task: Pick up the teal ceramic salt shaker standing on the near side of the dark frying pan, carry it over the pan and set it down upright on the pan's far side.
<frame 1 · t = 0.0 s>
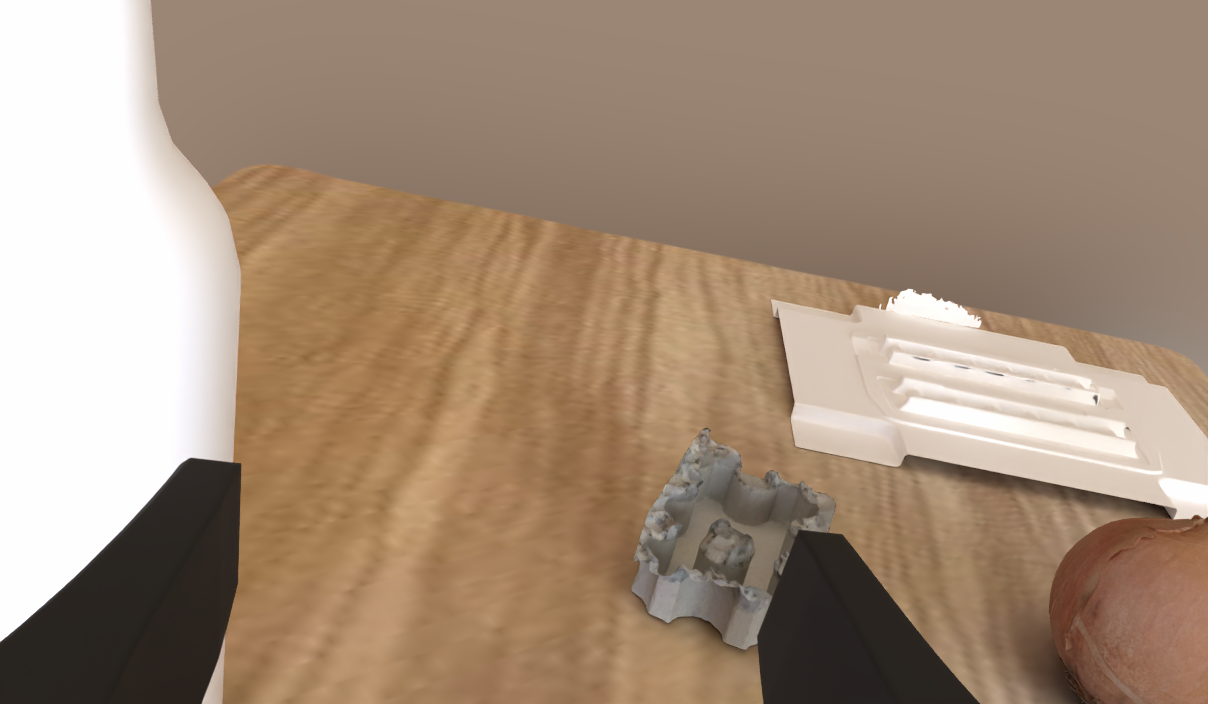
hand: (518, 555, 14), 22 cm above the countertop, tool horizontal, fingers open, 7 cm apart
egg carton: (724, 573, 51), on the countertop
tray: (990, 409, 71), on the countertop
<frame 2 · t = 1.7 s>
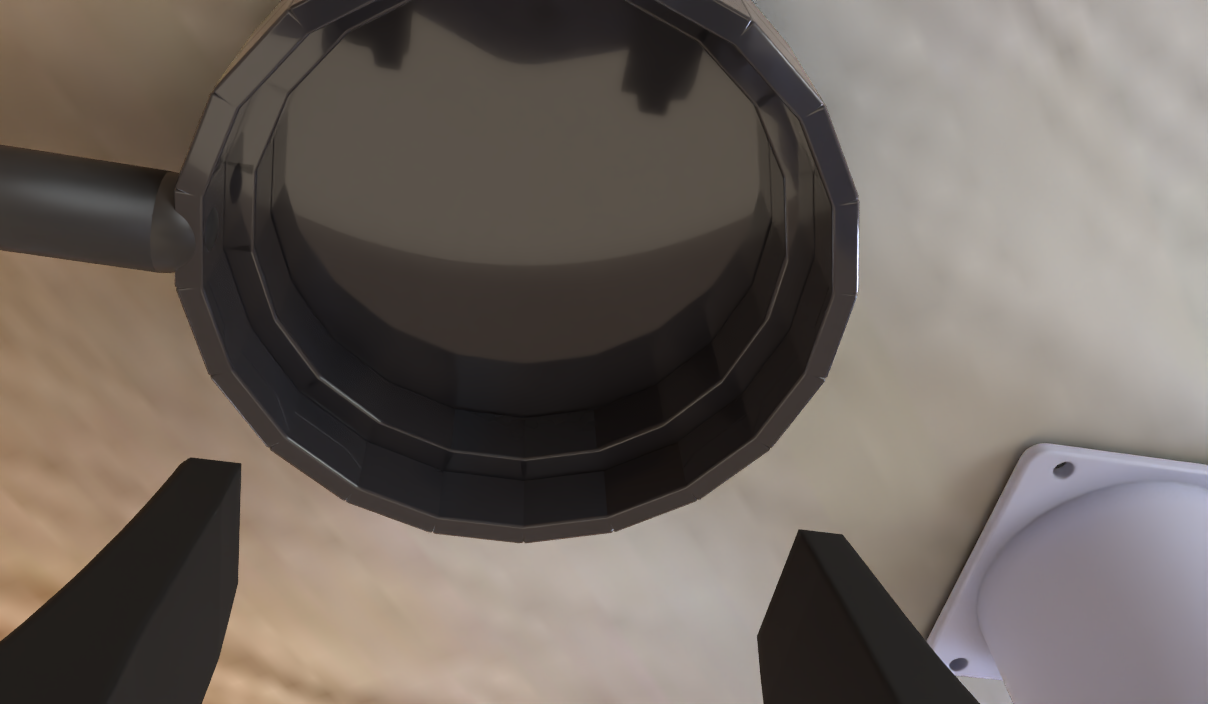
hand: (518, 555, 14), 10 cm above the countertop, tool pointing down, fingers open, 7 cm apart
pan: (525, 204, 23), on the countertop
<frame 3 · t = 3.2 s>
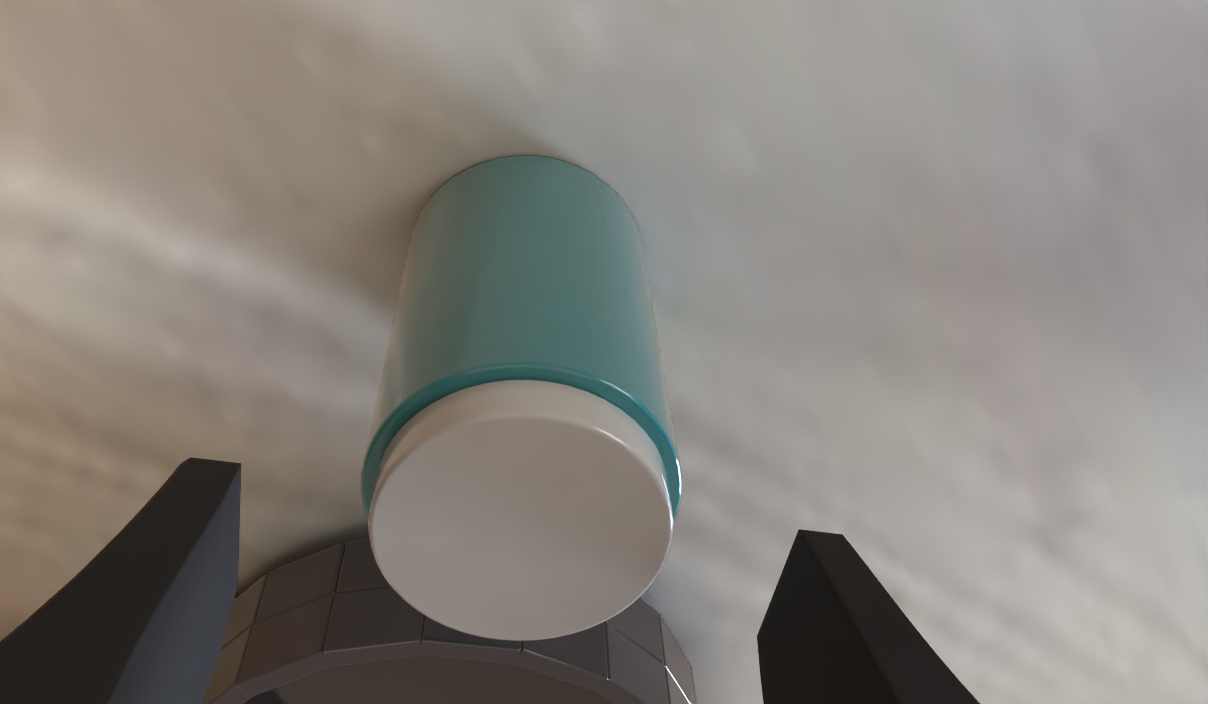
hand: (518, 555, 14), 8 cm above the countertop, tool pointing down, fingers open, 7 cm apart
pan: (446, 702, 27), on the countertop
salt shaker: (527, 263, 21), on the countertop
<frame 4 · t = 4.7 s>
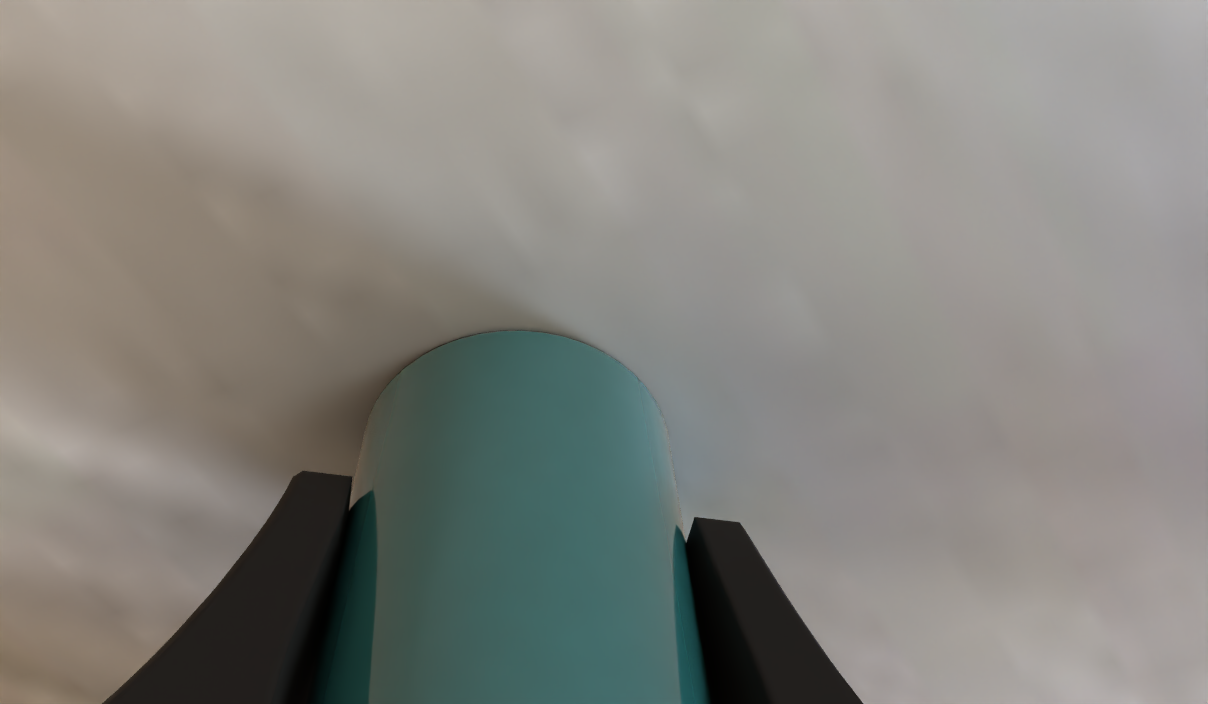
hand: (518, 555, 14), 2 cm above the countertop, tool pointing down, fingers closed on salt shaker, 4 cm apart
salt shaker: (517, 457, 16), on the countertop, touching gripper
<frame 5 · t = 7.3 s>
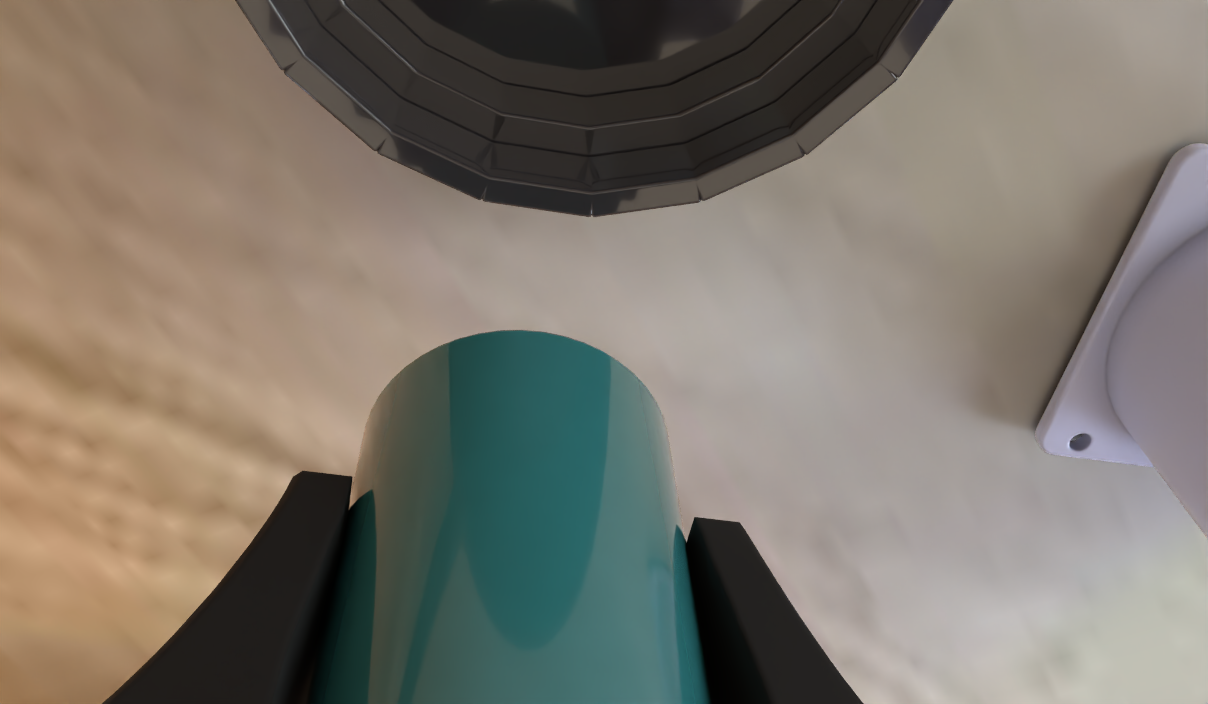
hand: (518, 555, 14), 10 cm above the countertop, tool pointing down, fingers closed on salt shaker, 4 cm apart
salt shaker: (517, 457, 16), point 8 cm above the countertop, touching gripper
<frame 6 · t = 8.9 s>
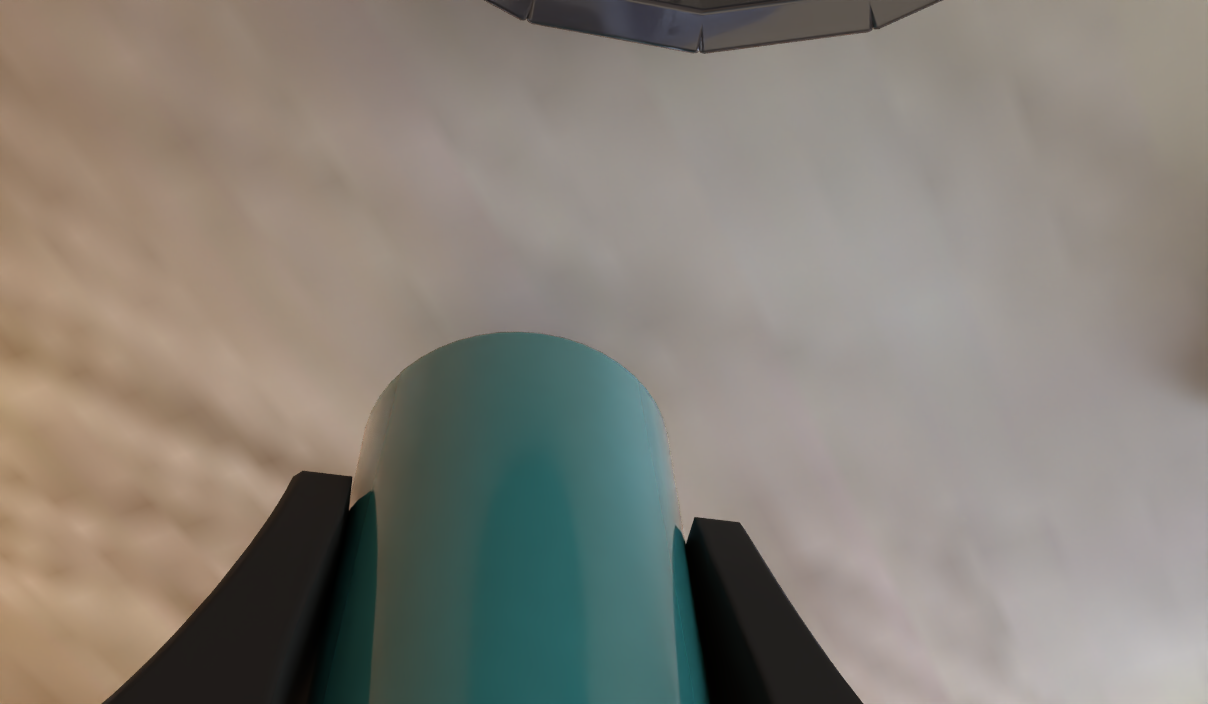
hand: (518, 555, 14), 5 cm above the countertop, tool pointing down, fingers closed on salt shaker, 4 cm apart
salt shaker: (517, 458, 16), point 3 cm above the countertop, touching gripper
when the fingers open (2 cm above the countertop, at t = 10.2 s): salt shaker stays where it is, on the countertop.
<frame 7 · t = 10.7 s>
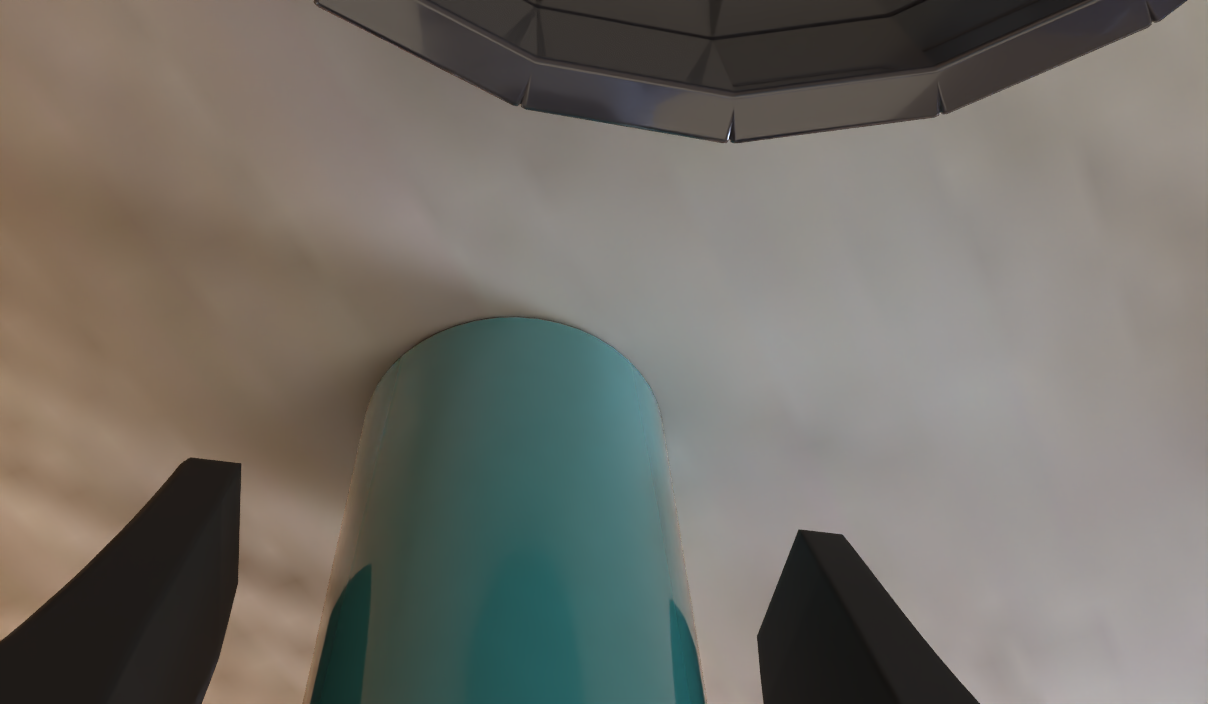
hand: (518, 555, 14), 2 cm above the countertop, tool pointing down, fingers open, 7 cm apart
salt shaker: (514, 442, 16), on the countertop
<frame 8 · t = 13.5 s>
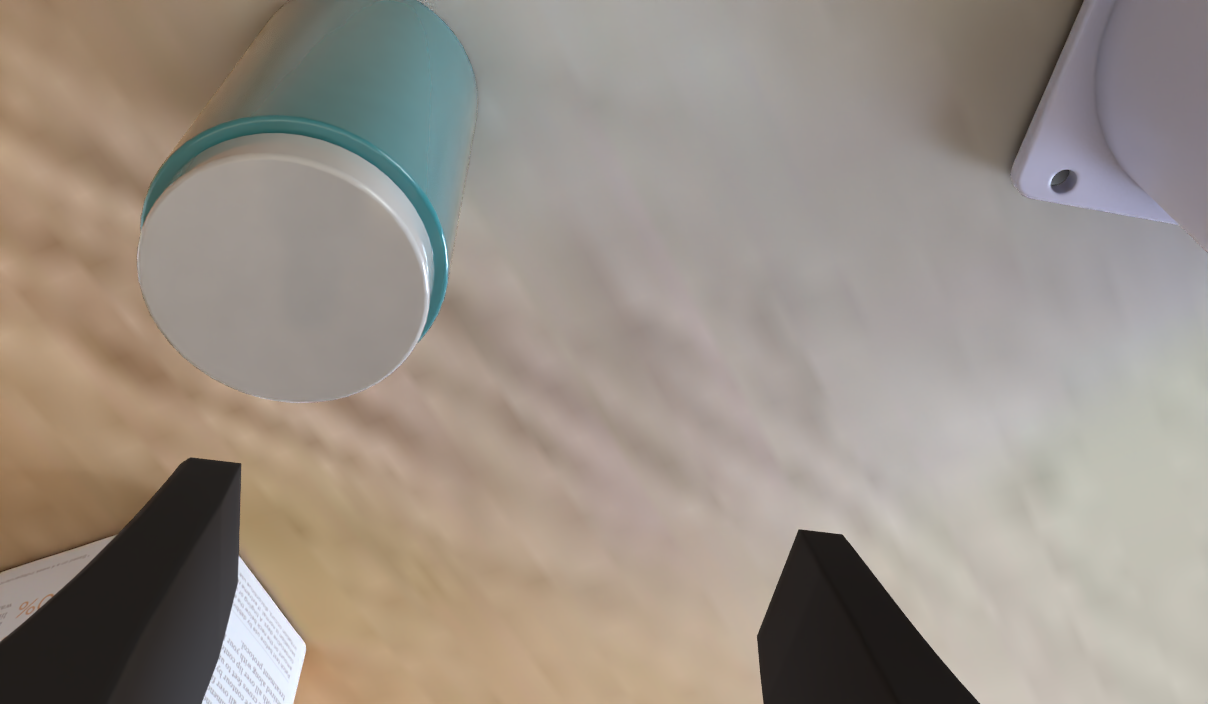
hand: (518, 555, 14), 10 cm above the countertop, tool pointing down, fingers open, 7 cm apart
salt shaker: (365, 95, 22), on the countertop
small box: (132, 609, 29), on the countertop
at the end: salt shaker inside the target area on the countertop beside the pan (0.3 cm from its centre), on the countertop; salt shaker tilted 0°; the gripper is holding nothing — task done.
